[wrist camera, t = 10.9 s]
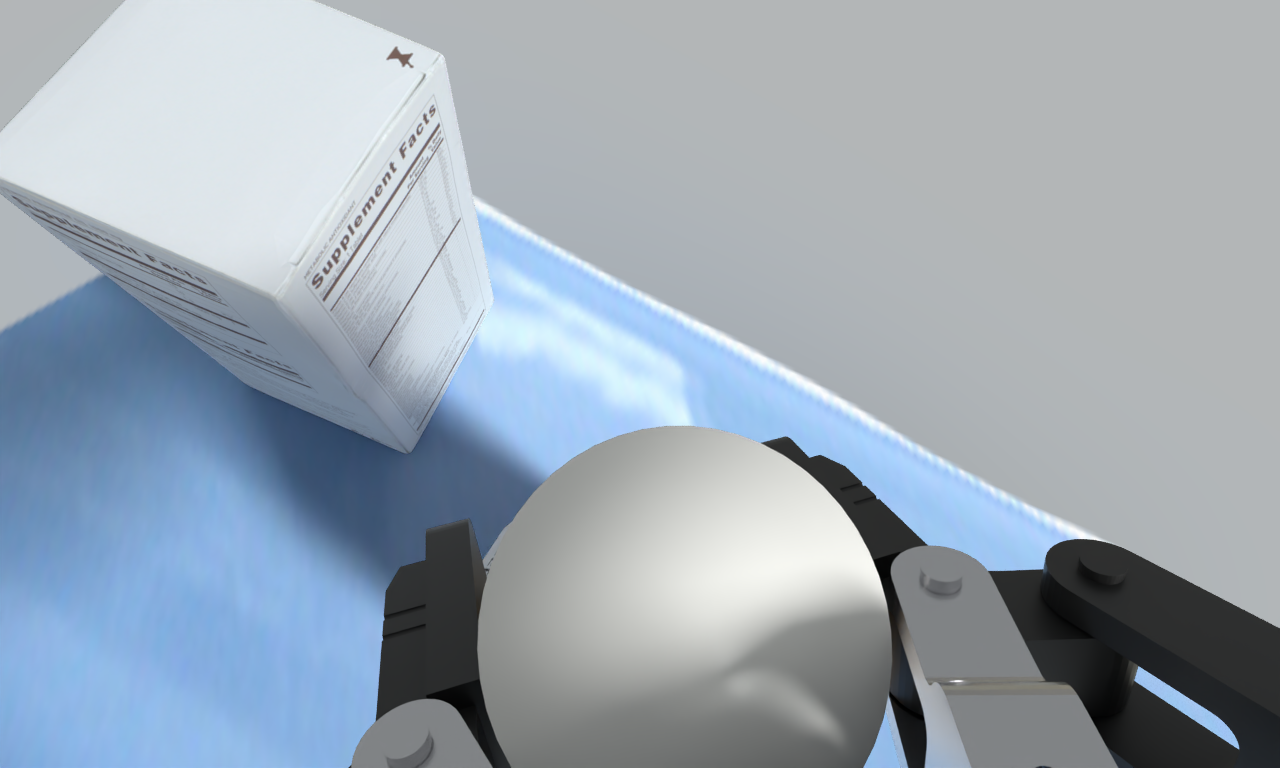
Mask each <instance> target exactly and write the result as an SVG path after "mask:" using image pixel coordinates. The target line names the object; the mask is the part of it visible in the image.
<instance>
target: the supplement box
mask: <svg viewBox="0 0 1280 768" xmlns="http://www.w3.org/2000/svg"><path fill="white" fill-rule="evenodd" d="M0 194H1V195H3V196H4V197H5V198H7V199H8V200H9V201H11V202H12V203H13V204H14V205H16V206H17V207H18V208H19V209H21V210H22V211H23V212H24V213H26V214H27V215H28V216H30V217H31V218H32V219H33V220H35V221H36V222H37V223H39V224H40V225H41V226H42V227H44V228H45V229H46V230H48V231H49V232H50V233H51V234H53V235H54V236H55V237H57V238H58V239H60V241H62V242H63V243H64V244H66V245H67V246H68V247H69V248H71V249H72V250H73V251H75V252H76V253H77V254H78V255H80V256H81V257H82V258H84V259H85V260H86V261H88V262H89V263H90V264H92V265H93V266H94V267H96V268H97V269H98V270H99V271H101V272H102V273H103V274H105V275H106V276H107V277H109V278H110V279H111V280H112V281H114V282H115V283H116V284H118V285H119V286H120V287H121V288H123V289H124V290H125V291H126V292H128V293H129V294H130V295H132V296H133V297H134V298H136V299H137V300H138V301H140V302H141V303H142V304H143V305H145V306H146V307H147V308H148V309H150V310H151V311H152V312H154V313H155V314H156V315H157V316H159V317H160V318H161V319H162V320H164V321H165V322H166V323H168V324H169V325H170V326H172V327H173V328H174V329H175V330H177V331H178V332H179V333H181V334H182V335H183V336H185V337H186V338H187V339H188V340H190V341H191V342H192V343H194V344H195V345H196V346H198V347H199V348H200V349H201V350H203V351H204V352H205V353H207V354H208V355H209V356H211V357H212V358H213V359H214V360H216V361H217V362H218V363H219V364H221V365H222V366H223V367H225V368H226V369H227V370H228V371H230V372H231V373H232V374H234V375H235V376H236V377H237V378H239V379H240V380H241V381H242V382H243V383H245V384H247V385H249V386H250V387H252V388H254V389H257V390H259V391H261V392H263V393H265V394H268V395H270V396H272V397H274V398H277V399H279V400H281V401H284V402H286V403H288V404H291V405H293V406H295V407H298V408H300V409H302V410H304V411H307V412H309V413H311V414H314V415H316V416H319V417H321V418H323V419H326V420H328V421H330V422H333V423H335V424H337V425H340V426H342V427H344V428H347V429H349V430H351V431H354V432H356V433H358V434H360V435H363V436H365V437H367V438H370V439H372V440H374V441H377V442H379V443H381V444H383V445H386V446H388V447H390V448H393V449H395V450H397V451H400V452H402V453H404V454H409V453H411V452H412V450H413V449H414V447H415V445H416V444H417V442H418V440H419V439H420V437H421V435H422V433H423V431H424V430H425V428H426V426H427V424H428V422H429V421H430V419H431V417H432V415H433V413H434V412H435V410H436V408H437V406H438V404H439V403H440V401H441V399H442V397H443V395H444V393H445V391H446V389H447V388H448V386H449V384H450V382H451V380H452V378H453V376H454V375H455V373H456V371H457V369H458V367H459V365H460V364H461V362H462V360H463V358H464V356H465V354H466V353H467V351H468V349H469V347H470V345H471V343H472V342H473V340H474V338H475V336H476V334H477V333H478V331H479V329H480V327H481V325H482V323H483V322H484V320H485V318H486V316H487V314H488V313H489V311H490V309H491V307H492V305H493V303H494V297H493V292H492V287H491V282H490V277H489V272H488V268H487V263H486V258H485V253H484V248H483V244H482V238H481V233H480V229H479V224H478V219H477V214H476V209H475V205H474V200H473V196H472V191H471V185H470V180H469V175H468V170H467V165H466V161H465V155H464V150H463V145H462V140H461V136H460V131H459V126H458V121H457V117H456V111H455V107H454V102H453V97H452V92H451V87H450V82H449V77H448V72H447V67H446V62H445V59H444V57H443V55H442V54H441V53H438V52H436V51H434V50H432V49H429V48H427V47H425V46H423V45H420V44H418V43H416V42H413V41H410V40H409V39H406V38H404V37H401V36H399V35H397V34H394V33H391V32H389V31H387V30H384V29H382V28H380V27H377V26H375V25H372V24H370V23H368V22H365V21H363V20H360V19H358V18H355V17H353V16H350V15H348V14H346V13H343V12H341V11H338V10H336V9H333V8H331V7H329V6H326V5H324V4H321V3H319V2H316V1H314V0H124V1H123V2H122V3H121V4H120V5H119V6H118V7H117V8H116V9H115V10H114V12H113V13H112V14H111V15H110V16H109V17H108V18H107V19H106V20H105V21H104V22H103V23H102V24H101V25H100V26H99V27H98V29H97V30H95V32H94V33H93V34H92V35H91V36H90V37H89V38H88V39H87V40H86V41H85V42H84V43H83V44H82V45H81V46H80V47H79V48H78V49H77V51H76V52H75V53H74V54H73V55H72V56H71V57H70V58H69V59H68V60H67V61H66V62H65V63H64V64H63V65H62V66H61V68H59V70H58V71H57V72H56V73H55V74H54V75H53V76H52V77H51V78H50V79H49V80H48V81H47V83H46V84H45V85H44V86H43V87H42V88H41V89H40V90H39V91H38V92H37V94H35V95H34V96H33V97H32V98H31V99H30V101H28V102H27V103H26V104H25V106H24V107H23V108H22V109H21V110H20V111H19V112H18V113H17V114H16V115H15V116H14V117H13V118H12V119H11V121H9V123H8V124H7V125H6V126H5V127H4V128H3V129H2V130H1V131H0Z"/></svg>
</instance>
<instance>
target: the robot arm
mask: <svg viewBox="0 0 1280 768" xmlns="http://www.w3.org/2000/svg"><path fill="white" fill-rule="evenodd" d="M761 444H763V445H765V446H767V447H769V448H771V449H773V450H775V451H776V452H778V453H780V454H782V455H784V456H785V457H787V458H788V459H790V460H791V461H793V462H794V463H795V464H797V465H798V466H800V467H801V468H803V469H804V470H805V471H806V472H808V473H809V474H810V475H811V476H812V477H813V478H814V479H815V480H817V481H818V482H819V483H820V484H821V485H822V486H823V487H824V488H825V489H826V490H827V491H828V492H829V493H830V494H831V496H832V497H833V498H834V499H835V500H836V501H837V502H838V503H839V505H840V506H841V507H842V508H843V510H844V511H845V513H846V514H847V515H848V517H849V518H850V520H851V521H852V523H853V524H854V525H855V527H856V528H857V530H858V532H859V534H860V536H861V537H862V539H863V541H864V543H865V545H866V547H867V549H868V550H869V552H870V555H871V557H872V560H873V562H874V565H875V567H876V570H877V572H878V575H879V577H880V581H881V584H882V588H883V592H884V595H885V599H886V603H887V608H888V615H889V621H890V628H891V641H892V668H891V680H890V690H889V695H888V700H887V705H886V709H885V710H886V714H887V717H888V721H889V725H890V729H891V733H892V737H893V741H894V745H895V749H896V752H897V756H898V760H899V764H900V768H1280V628H1278V627H1276V626H1274V625H1272V624H1270V623H1268V622H1266V621H1264V620H1262V619H1260V618H1258V617H1256V616H1254V615H1252V614H1251V613H1248V612H1247V611H1245V610H1242V609H1241V608H1239V607H1237V606H1235V605H1233V604H1231V603H1229V602H1227V601H1225V600H1223V599H1221V598H1220V597H1218V596H1216V595H1214V594H1212V593H1210V592H1208V591H1206V590H1204V589H1202V588H1200V587H1198V586H1196V585H1194V584H1192V583H1190V582H1188V581H1187V580H1185V579H1183V578H1181V577H1179V576H1177V575H1175V574H1173V573H1171V572H1169V571H1167V570H1165V569H1163V568H1161V567H1159V566H1157V565H1155V564H1154V563H1152V562H1150V561H1148V560H1146V559H1144V558H1142V557H1140V556H1138V555H1136V554H1134V553H1132V552H1130V551H1128V550H1126V549H1124V548H1121V547H1119V546H1116V545H1113V544H1110V543H1106V542H1102V541H1096V540H1088V539H1074V540H1067V541H1063V542H1060V543H1058V544H1056V545H1054V546H1053V547H1052V548H1050V550H1049V551H1048V552H1047V555H1046V558H1045V564H1044V569H1042V570H1016V571H987V569H986V568H985V567H984V566H983V565H982V564H981V563H979V562H978V561H977V560H976V559H974V558H972V557H971V556H969V555H967V554H965V553H963V552H961V551H958V550H955V549H951V548H947V547H941V546H928V545H927V544H926V543H925V542H924V541H923V540H922V539H920V538H919V537H918V536H917V535H916V534H915V533H914V532H913V531H912V530H911V529H910V528H909V527H908V526H907V525H906V524H905V523H904V522H903V521H902V520H901V519H900V518H899V517H898V516H896V515H895V514H894V513H893V512H892V511H891V510H890V509H889V508H888V507H887V506H886V505H885V504H884V503H883V502H882V501H881V500H880V499H878V500H877V498H876V495H875V494H874V493H873V492H871V491H870V490H869V489H868V488H867V487H866V486H863V485H862V482H861V481H860V480H859V479H858V478H857V477H856V476H855V475H854V474H853V473H852V472H851V471H850V470H849V469H847V468H846V467H845V466H843V465H841V464H839V463H837V462H835V461H833V460H830V459H828V458H826V457H824V456H822V455H818V456H814V457H811V458H809V457H808V456H807V455H806V454H805V453H804V452H803V451H802V450H801V449H800V448H799V447H798V446H797V445H796V444H795V443H794V442H793V441H792V440H791V439H790V438H789V437H782V438H778V439H774V440H770V441H766V442H762V443H761ZM486 580H487V575H486V572H485V568H484V565H483V561H482V558H481V554H480V551H479V547H478V544H477V540H476V537H475V533H474V530H473V526H472V523H471V521H470V519H469V518H468V519H464V520H460V521H456V522H453V523H449V524H445V525H441V526H437V527H433V528H430V529H427V530H426V560H425V561H421V562H417V563H413V564H410V565H406V566H402V567H400V568H399V570H398V572H397V573H396V575H395V577H394V578H393V580H392V582H391V584H390V585H389V587H388V589H387V590H386V595H385V609H384V618H385V620H384V622H383V635H382V636H383V641H382V648H381V661H380V674H379V688H378V701H377V714H376V722H375V723H374V724H373V725H372V726H371V727H370V728H369V729H368V730H367V732H366V733H365V734H364V736H363V737H362V738H361V740H360V742H359V744H358V746H357V747H356V750H355V753H354V755H353V760H352V765H351V766H350V767H349V768H511V766H510V764H509V762H508V760H507V758H506V756H505V754H504V752H503V750H502V748H501V746H500V745H499V743H498V741H497V738H496V735H495V733H494V730H493V727H492V724H491V721H490V719H489V716H488V713H487V710H486V706H485V701H484V696H483V692H482V687H481V683H480V675H479V663H478V652H477V645H478V620H479V614H480V608H481V601H482V595H483V590H484V587H485V583H486ZM1138 666H1139V667H1141V668H1143V669H1144V670H1146V671H1147V672H1149V673H1150V674H1152V675H1154V676H1155V677H1157V678H1158V679H1160V680H1161V681H1163V682H1165V683H1166V684H1168V685H1169V686H1171V687H1172V688H1174V689H1175V690H1177V691H1179V692H1180V693H1182V694H1183V695H1185V696H1186V697H1188V698H1190V699H1191V700H1193V701H1194V702H1196V703H1197V704H1199V705H1201V706H1202V707H1204V708H1205V709H1207V710H1208V711H1210V712H1212V713H1213V714H1214V715H1216V716H1217V717H1218V718H1220V719H1221V720H1222V721H1223V722H1224V723H1225V724H1226V725H1227V726H1228V727H1229V728H1230V730H1231V731H1232V732H1233V734H1234V735H1235V737H1236V739H1237V741H1238V744H1239V749H1237V748H1235V747H1234V746H1232V745H1231V744H1229V743H1228V742H1226V741H1225V740H1223V739H1222V738H1220V737H1219V736H1217V735H1216V734H1214V733H1213V732H1211V731H1210V730H1208V729H1206V728H1205V727H1203V726H1202V725H1200V724H1199V723H1197V722H1196V721H1194V720H1193V719H1191V718H1190V717H1188V716H1187V715H1185V714H1184V713H1182V712H1181V711H1179V710H1178V709H1176V708H1175V707H1173V706H1171V705H1170V704H1168V703H1167V702H1165V701H1164V700H1162V699H1161V698H1159V697H1158V696H1156V695H1155V694H1153V693H1152V692H1150V691H1149V690H1147V689H1146V688H1144V687H1143V686H1141V685H1139V684H1138V683H1136V682H1135V681H1134V679H1135V676H1136V672H1137V669H1138Z"/></svg>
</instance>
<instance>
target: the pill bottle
mask: <svg viewBox="0 0 1280 768" xmlns="http://www.w3.org/2000/svg"><path fill="white" fill-rule="evenodd" d="M477 652H478V663H479V675H480V683H481V687H482V692H483V696H484V701H485V706H486V710H487V713H488V716H489V719H490V721H491V724H492V727H493V730H494V733H495V735H496V738H497V741H498V743H499V745H500V746H501V748H502V750H503V752H504V754H505V756H506V758H507V760H508V762H509V764H510V766H511V768H863V767H864V765H865V763H866V761H867V759H868V757H869V755H870V753H871V751H872V749H873V747H874V744H875V741H876V739H877V736H878V733H879V730H880V727H881V724H882V721H883V718H884V714H885V709H886V705H887V700H888V695H889V690H890V680H891V668H892V641H891V628H890V621H889V615H888V608H887V603H886V599H885V595H884V592H883V588H882V584H881V581H880V577H879V575H878V572H877V570H876V567H875V565H874V562H873V560H872V557H871V555H870V552H869V550H868V549H867V547H866V545H865V543H864V541H863V539H862V537H861V536H860V534H859V532H858V530H857V528H856V527H855V525H854V524H853V523H852V521H851V520H850V518H849V517H848V515H847V514H846V513H845V511H844V510H843V508H842V507H841V506H840V505H839V503H838V502H837V501H836V500H835V499H834V498H833V497H832V496H831V494H830V493H829V492H828V491H827V490H826V489H825V488H824V487H823V486H822V485H821V484H820V483H819V482H818V481H817V480H815V479H814V478H813V477H812V476H811V475H810V474H809V473H808V472H806V471H805V470H804V469H803V468H801V467H800V466H798V465H797V464H795V463H794V462H793V461H791V460H790V459H788V458H787V457H785V456H784V455H782V454H780V453H778V452H776V451H775V450H773V449H771V448H769V447H767V446H765V445H763V444H761V443H759V442H756V441H754V440H751V439H748V438H746V437H743V436H741V435H737V434H733V433H729V432H725V431H721V430H717V429H712V428H703V427H695V426H664V427H656V428H649V429H642V430H638V431H634V432H631V433H627V434H623V435H620V436H617V437H614V438H612V439H609V440H607V441H604V442H602V443H600V444H597V445H595V446H593V447H591V448H590V449H588V450H586V451H584V452H583V453H581V454H579V455H577V456H576V457H574V458H572V459H571V460H570V461H568V462H567V463H566V464H565V465H563V466H562V467H561V468H559V469H558V470H557V471H555V472H554V473H553V474H552V475H551V476H550V477H549V478H548V479H547V480H546V481H545V482H544V483H542V484H541V485H540V486H539V487H538V488H537V489H536V490H535V491H534V492H533V494H532V495H531V496H530V497H529V499H528V500H527V501H526V503H525V504H524V505H523V506H522V508H521V509H520V510H519V512H518V513H517V514H516V516H515V518H514V519H513V521H512V523H511V524H510V526H509V528H508V529H507V531H506V533H505V534H504V536H503V538H502V540H501V542H500V545H499V547H498V549H497V552H496V554H495V556H494V558H493V561H492V563H491V566H490V570H489V573H488V576H487V580H486V583H485V587H484V590H483V595H482V601H481V608H480V614H479V620H478V645H477Z"/></svg>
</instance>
